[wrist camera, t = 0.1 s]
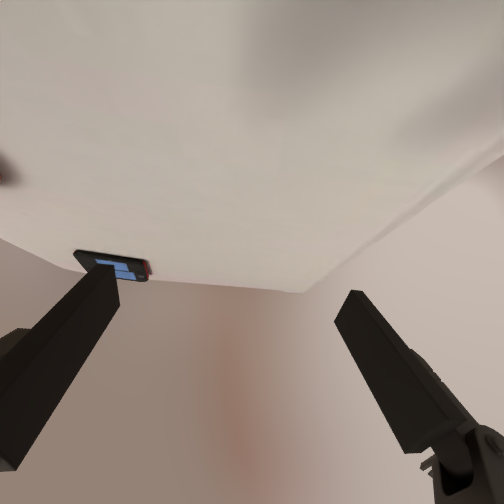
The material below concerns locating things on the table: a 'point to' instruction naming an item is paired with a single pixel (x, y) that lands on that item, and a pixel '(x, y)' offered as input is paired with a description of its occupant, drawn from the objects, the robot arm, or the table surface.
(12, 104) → the table surface
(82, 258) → the game console
